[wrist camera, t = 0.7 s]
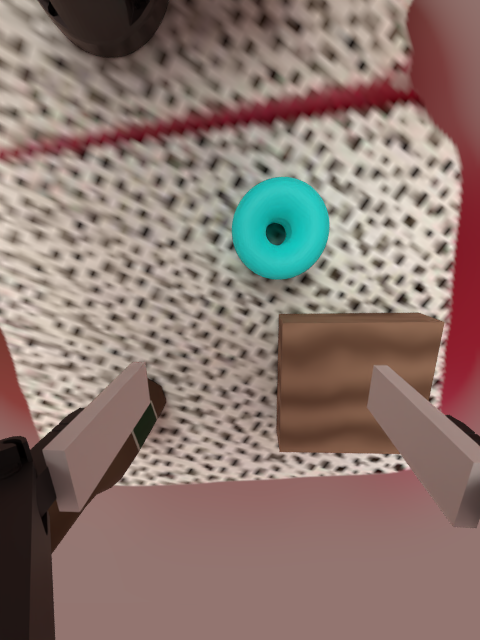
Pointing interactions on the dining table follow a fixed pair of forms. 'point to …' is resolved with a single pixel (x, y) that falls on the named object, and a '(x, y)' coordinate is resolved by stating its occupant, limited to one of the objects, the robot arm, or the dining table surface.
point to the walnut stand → (346, 376)
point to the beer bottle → (112, 464)
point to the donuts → (293, 214)
